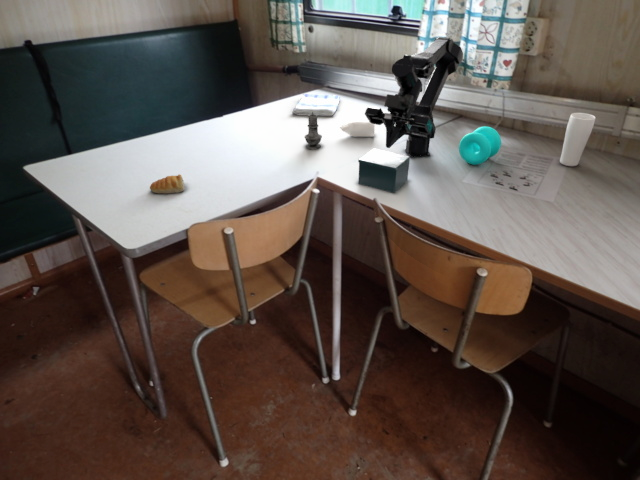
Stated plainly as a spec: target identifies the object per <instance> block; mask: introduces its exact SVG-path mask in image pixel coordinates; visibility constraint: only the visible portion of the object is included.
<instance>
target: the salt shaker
mask: <svg viewBox="0 0 640 480" xmlns="http://www.w3.org/2000/svg"><path fill="white" fill-rule="evenodd" d="M307 127H308V133H307V134H305V135H304V139H305V142H306V145H305V148H306V149H307V150H319V149H321V148H322V144H320V143H321V141H322V137H323V136H322V134H320V133H319V131H318V130H319V129H318V128H319V124H318V115H314V114H313V112H312V114H311V115H308V124H307Z"/></svg>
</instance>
